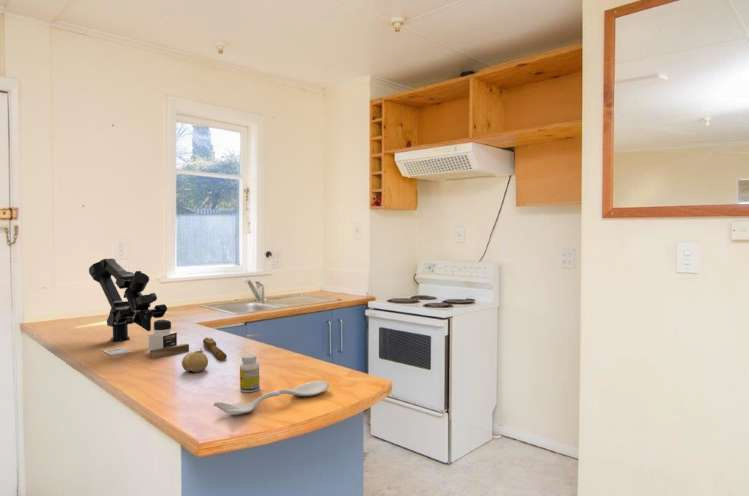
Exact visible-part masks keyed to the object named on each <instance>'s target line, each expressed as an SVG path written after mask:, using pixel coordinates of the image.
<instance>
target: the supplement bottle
mask: <svg viewBox="0 0 749 496" xmlns="http://www.w3.org/2000/svg"><path fill="white" fill-rule="evenodd" d="M241 361H242V363H241V364H239V386H240V391H241V392H242V393H248V394H249V393H255V392H257V391H259V390H260V388H261V386H260V385H261V384H260V383H261V382H260V381H261V380H260V364H259V362H257V355H256V354H244V355H243V356H242V357H241Z"/></svg>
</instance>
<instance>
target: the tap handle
mask: <svg viewBox="0 0 749 496" xmlns="http://www.w3.org/2000/svg"><path fill="white" fill-rule="evenodd" d="M202 343H203V347H204V348H205V349H206V350H207V351H211V352H213V354H214V355H215V358H217V360H219V361H220V362H222V361H223V362H224V361H226V360H227V354H226V353H225V352H224V351H223V350H222V349H220V348H219V347H218V346H217V341H216V340H214V339H213V338H209V337H205V338H204V339H203V340H202Z"/></svg>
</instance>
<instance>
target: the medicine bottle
mask: <svg viewBox="0 0 749 496" xmlns="http://www.w3.org/2000/svg"><path fill="white" fill-rule="evenodd" d="M177 335H178V332H177V331H172V321H171V320H170V319H165V318H163V319H157V320H155V321H154V322H153V333H149V334H148V353H149V354H150V351H151V350H156V349H161V348H166V347H171V346H176V345H178V341H177V340H178V339H177V338H178V336H177Z"/></svg>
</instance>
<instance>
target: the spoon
mask: <svg viewBox="0 0 749 496" xmlns="http://www.w3.org/2000/svg"><path fill="white" fill-rule="evenodd" d="M329 387H330V384H329V382H327V381H326V380H315V381H310V382H307V383H303V384H301V385H298V386H295V387H292V388H290V389H280V390H273V391H271V392H268V393H265V394H263V395H261V396H258V397H257V398H255V400H253V401H251V402H248V403H225V402H221V401H220V402H219V401H216V402H214V403H213V406H214V407H217V408H218V409H219V410H220V411H223V412H225V413H227V414H229V415H231V416H238V415H242V414H247V413H250V412H252V411H253V410H255V408H256V407H257V406H258V405H259V404H260V403H261V402H262V401H264V400H266V399H268V398H271V397H278V396H279V397H280V395H285V394H286V395H293V396H298V397H312V396H316V395H320V394H323V392H325V391H326V390H328V389H329Z"/></svg>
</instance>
